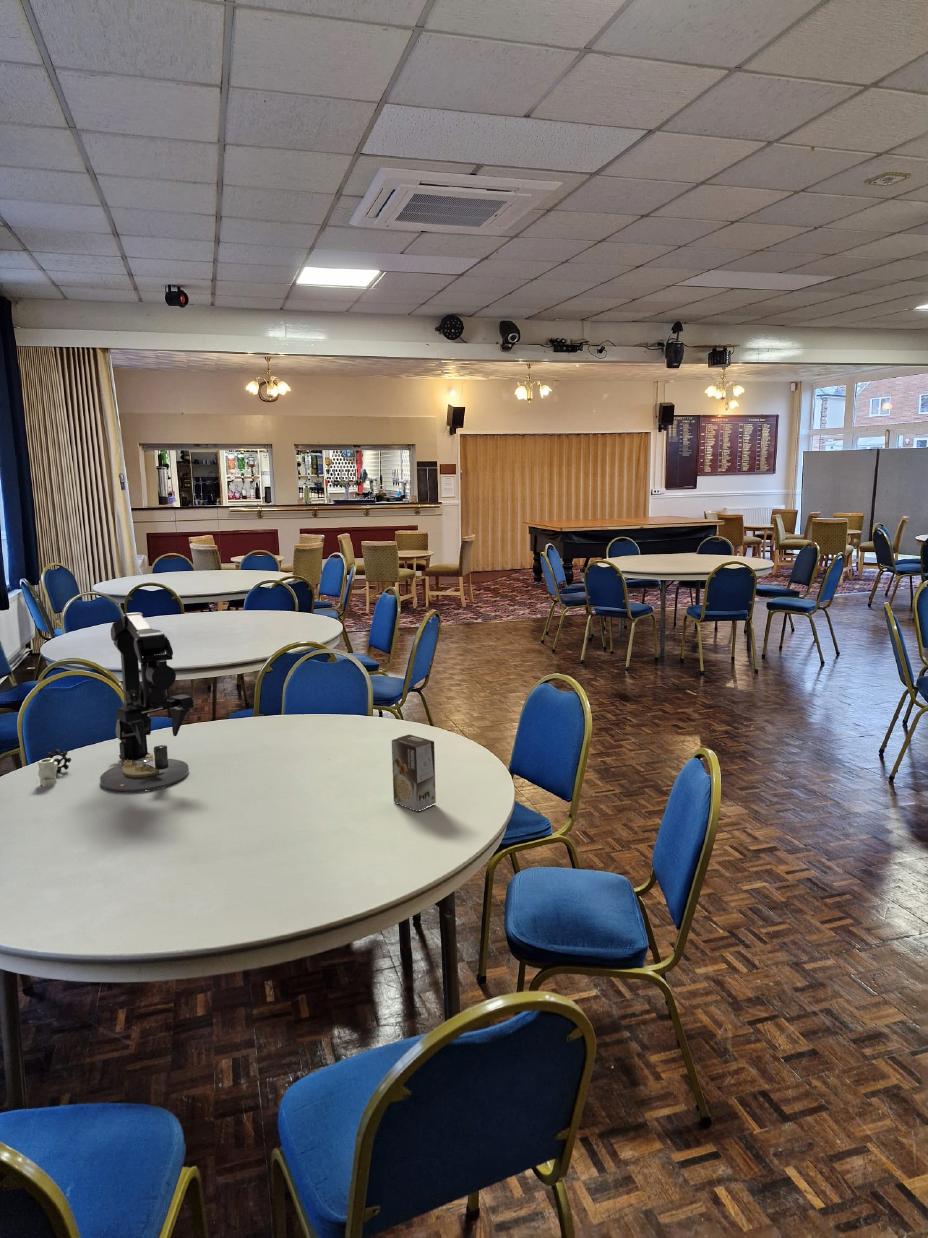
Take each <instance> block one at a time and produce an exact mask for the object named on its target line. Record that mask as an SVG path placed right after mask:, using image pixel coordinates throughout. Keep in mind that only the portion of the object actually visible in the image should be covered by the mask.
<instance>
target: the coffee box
mask: <svg viewBox="0 0 928 1238" xmlns="http://www.w3.org/2000/svg"><path fill="white" fill-rule="evenodd" d="M435 754H436V753H435V741H434V740H430V739H427V738H423V737H419V736H417V735H413V734H406V735H401V736H400V737H397V738H394V739H392V740H391V757H392V759H391V760H392V761H391V765H392V785H393V786H392V787H393V789H392V790H393V791H392V792H393V793H392V794H393V803H394V802H395V803H398V804H400V805H403V806H406V807H408V808H411V809H414V810H417V811H419V810H422V809H424V808H426V807H427V806H430V805H432V804H434V803H436V801H437V799H436V798H437V797H436V794H437V793H436V762H435V761H436V760H435V759H436V758H435V757H436V756H435ZM395 803H394V804H395ZM436 804H437V803H436ZM400 805H399V806H400ZM403 806H402V807H403ZM406 807H405V808H406ZM408 808H407V809H408ZM411 809H410V810H411ZM414 810H413V811H414Z"/></svg>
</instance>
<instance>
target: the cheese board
mask: <svg viewBox="0 0 928 1238" xmlns="http://www.w3.org/2000/svg"><path fill="white" fill-rule="evenodd" d="M168 759H169V756H168V746H167V745H166V744H165V745H156V746H153V753H150V754H147V755H146V756H145V757H143V758H139V759H135V760H126V759H124V762H123V764H124V766H123V767H122V770H123V775H124V776H126V777H131V778H142V777H149V776H154V775H157V774H160V773H163V772H167V768H168Z"/></svg>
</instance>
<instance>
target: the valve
mask: <svg viewBox="0 0 928 1238" xmlns="http://www.w3.org/2000/svg"><path fill="white" fill-rule="evenodd" d="M60 751H61V750H60V749H59V748H57V749H55V750H54V753H52V752H48V753H46V756H47V757H48V758H44V759H40V760H39V761H38V762H37V763H38V771H37V772H38V774H37V775H38V777H39V779H40V780H39V784H40V785H44V786H47V787H49V786H48V785H52V786H54V784H55V785H56V783H57V777H56V775H57V774H59V773H61V772H62V769H64V770H65V771H66V770H68V769H69V767H70V765H68V764H67V763H71V762H72V758H71V757H67V755H68V751H66V750H65V751H64V750H63V752H62V753H61V752H60ZM55 756H60V757H61V758H60V757H56V758H54V757H55ZM62 761H64V762H63V764H62ZM40 785H39V786H40ZM44 786H43V787H44Z"/></svg>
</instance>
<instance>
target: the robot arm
mask: <svg viewBox="0 0 928 1238" xmlns="http://www.w3.org/2000/svg"><path fill="white" fill-rule="evenodd" d="M110 636H111V637H110V638H111V641H113V645H114V647H115V648H116V649H117V651H119V653H120V662H121V664H120V665H121V679H122V691H123V704H122V705H121V707H118V708H117V709H116V712H115V719H116V725H115V736H116V738H117V739H118V741H120V742H119V746H118V747H119V754H118V757H119V758H122V759H124V760H132V761H135V760H138V759H142V758H145V756H146V755H147V754H151V753H149V752H148V742H147V741H148V739H147V736H150V735H151V733H152V721H153V719H152V718H151V717H150V715H149V714H151V713H155V712H160V711H164V710H169V712H170V714H171V727H172V728H171V729H172V730H171V732H172V736H173V737H177V736H178V733H179V731H180V728H181V727H182V723H183V722H184V719H185V717H186V716H187V713H189V712H191V709H192V708H195V700H194V698H193V697H192V696H190V695H186V694H178V695H173V696H170V697H169V699H168V692H167V690H169V689H170V687H171V686H173V684H174V683H175V682H176V679H177V673H176V671H175V669H174V668H173V667H171V666H169V665H168V661H171V660H173V659H174V657H173V655H174V651H173V648H172V646H171V642H170V640H169V639H168V637H167V635H165V633H164V632H163V631H162V630H160V629H155V628H152V627H151V626H150V625H149V623H148V622H147V621H146V619H145V617H144V614H143V613H142V612H139V611H137V612H136V611H135V612H125V613H124V614H122V615H121V618H119V619H117V620H115V621H114V622H113V623H112V625H111V628H110ZM139 663H140V664H139ZM139 666H140V667H139ZM140 675H141V680H140Z"/></svg>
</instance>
